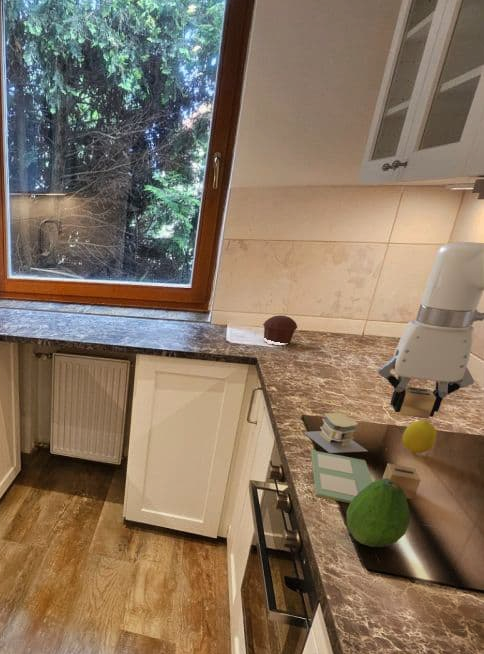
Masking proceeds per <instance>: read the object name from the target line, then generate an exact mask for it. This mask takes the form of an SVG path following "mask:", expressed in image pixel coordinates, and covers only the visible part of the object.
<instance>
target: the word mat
mask: <svg viewBox="0 0 484 654" xmlns="http://www.w3.org/2000/svg"><path fill="white" fill-rule="evenodd" d="M310 455H311V464H312V475H313V485H314V493H315V497H319V498H324V499H330V500H334V501H337V502H342V503H347V504H350V502H351V501H352V500H353V499H354V498H355V497H356V496H357V494H358V493H360V492H361V491H362V490H363V489H364V488H366V487H367V486H368V485H369V484H370V483H372V482H373V480H372V477H371V473H370V471H369V468H368V464H367V461H366V460H365V459H361V458H354V457H350V456H344V455H340V454H335V453H329V452H323V451H318V450H313V449H312V450H311V452H310Z"/></svg>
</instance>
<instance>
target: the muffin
mask: <svg viewBox="0 0 484 654" xmlns="http://www.w3.org/2000/svg"><path fill="white" fill-rule="evenodd" d="M262 326H263V327H264V328H263V339H264V338H266V339H267V340H271V341H274V342H280V343H289V344H291V341H292V339H293V336H294V332H296V330H297V329H298V324H297V323H296V321H295V320H294V319H293V318H291V317H290V316H287V315H274V316H270V317H269V318H268V319H267V320H265V321H264V322H263V324H262Z"/></svg>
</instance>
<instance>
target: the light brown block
mask: <svg viewBox="0 0 484 654" xmlns="http://www.w3.org/2000/svg"><path fill="white" fill-rule="evenodd" d="M404 392H405V397H404V400H403V403H402V407H401V410H400V412H398V414H399V416H404V417H411V418H418V419H424V420H429V419H430V417H429V416H430V414H431V411H432V408H433V405H434V402H435V400H436V396H435V395H434V394H433V392H432V389H431V388H425V387H424V388H423V387H415V386H408V385H407V386H406V387H405V391H404Z"/></svg>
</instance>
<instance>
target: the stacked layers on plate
mask: <svg viewBox="0 0 484 654" xmlns="http://www.w3.org/2000/svg"><path fill="white" fill-rule="evenodd" d="M324 416H325V418H323V417H322V421H323V424H322V425H321V426H320V429H321V430H318V431H302V433H303V434H305V435H306V436H307V437H308V438H309V439H311V440H312V441H314V442H315V444H317V445H318V446H320V447H321V448H322V449H323V450H325V451H326V452H327V453H329V454H338V453H339V454H340V453H360V452H368V450H367V449H366V448H364V447H363V446H362V445H360V444H358V442H356V441H354V440H353V439H354V438H355V436H354V435H353V434H354V432H356V431H357V425H359V422H358V421H357V420H355V419H352V418H351V417H349V416H347V415H345V414H343V413H341V412H330V413H329V412H327V413H324Z"/></svg>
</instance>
